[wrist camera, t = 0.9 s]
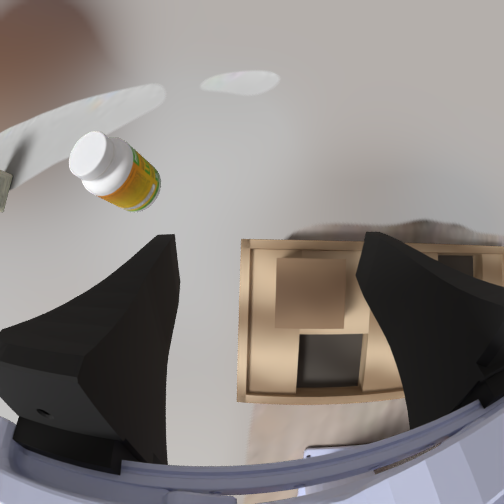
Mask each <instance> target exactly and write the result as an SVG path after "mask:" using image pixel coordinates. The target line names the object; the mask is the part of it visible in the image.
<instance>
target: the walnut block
mask: <svg viewBox="0 0 504 504" xmlns="http://www.w3.org/2000/svg"><path fill="white" fill-rule="evenodd" d="M345 291H346V259H307V258H277V264H276V300H275V328H282V329H344V318H345Z"/></svg>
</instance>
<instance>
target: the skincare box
mask: <svg viewBox="0 0 504 504" xmlns="http://www.w3.org/2000/svg"><path fill="white" fill-rule="evenodd" d="M12 177H13V175H11V174H9V173H6V172H4V171H2V170H0V212H3V211H4V208H5V203H6V200H7V196H8V192H9V188H10V185H11V181H12Z"/></svg>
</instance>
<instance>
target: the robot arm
mask: <svg viewBox="0 0 504 504" xmlns="http://www.w3.org/2000/svg"><path fill="white" fill-rule="evenodd" d="M355 276H356V278H357V281H358V284H359V287H360V289H361V292H362V294H363V296H364V298H365V300H366V302H367V304H368V306H369V308H370V310H371V311H372V313H373V315H374V317H375V319H376V320H377V322H378V324H379V326H380V328H381V330H382V332H383V333H384V335H385V337H386V339H387V342H388V344H389V346H390V349H391V351H392V354H393V357H394V360H395V363H396V365H397V369H398V372H399V375H400V379H401V382H402V386H403V391H404V395H405V400H406V404H407V410H408V417H409V424H410V430H409V431H407V432H404V433H401V434H398V435H395V436H392V437H389V438H386V439H383V440H380V441H377V442H373V443H370V444H364V445H354V446H341V447H323V448H307V449H305V451H304V456H303V459H298V460H291V461H284V462H276V463H266V464H255V465H241V466H204V467H203V466H175V465H168V461H167V446H166V416H165V415H166V409H165V408H166V407H165V406H166V377H167V376H166V375H167V363H168V355H169V349H170V344H171V339H172V333H173V329H174V324H175V319H176V314H177V309H178V303H179V291H180V276H179V268H178V260H177V251H176V242H175V235H174V234H167V235H157V236H156V237H154V238H153V239H152V240H151V241H150V242H149V243H148V244H146V245H145V246H144V247H143V248H142V249H141V250H140V251H139V252H137V254H135V255H134V256H133V257H132V258H131V259H129V260H128V261H127V262H126V263H125V264H123V265H122V266H121V267H120V268H118V269H117V270H116V271H115V272H113V273H112V274H111V275H110V276H108V277H107V278H106V279H104V280H103V281H101V282H100V283H99V284H97V285H95V286H94V287H92V288H91V289H90V290H88V291H86V292H85V293H83V294H81V295H79V296H77V297H76V298H74V299H72V300H70V301H69V302H67V303H65V304H63V305H61V306H59V307H57V308H55V309H53V310H51V311H49V312H47V313H45V314H42V315H40V316H38V317H35V318H33V319H30V320H28V321H25V322H22V323H19V324H17V325H14V326H11V327H8V328H5V329H2V330H1V332H0V397H1V398H2V399H3V400H4V401H5V402H6V403H7V405H8V406H9V407H10V408H11V409H12V410H13V411H14V412H15V413H16V414H17V415H18V416H19V418H18V422H17V425H16V424H14V423H13V422H11V421H10V420H7V419H6V418H3V417H1V416H0V503H1V504H237V499H236V498H234V497H233V496H221V495H244V494H258V493H268V492H276V491H284V490H291V489H297V488H299V490H298V495H297V497H294V498H289V499H283V500H277V501H271V502H264V503H257V504H504V287H502V286H499V285H495V284H492V283H489V282H486V281H483V280H480V279H477V278H475V277H472V276H469V275H467V274H465V273H462V272H460V271H458V270H455V269H453V268H451V267H449V266H447V265H445V264H443V263H441V262H439V261H437V260H435V259H433V258H431V257H429V256H427V255H425V254H423V253H422V252H420V251H418V250H416V249H414V248H412V247H411V246H409V245H407V244H405V243H403V242H401V241H399V240H397V239H395V238H393V237H391V236H388V235H386V234H383V233H380V232H366V235H365V239H364V244H363V248H362V252H361V256H360V260H359V264H358V267H357V271H356V275H355ZM440 443H441V444H440ZM437 444H440V445H439V446H438V447H436V448H434V449H432V450H430V451H428V452H426V453H424V454H422V455H420V456H419V457H417V458H415V459H413V460H410V461H408V462H406V463H403V464H401V465H399V466H396V467H394V468H391V469H388V470H386V471H383V472H380V473H378V474H375V472H374V470H375V469H378V468H381V467H384V466H387V465H390V464H392V463H395V462H398V461H400V460H403V459H406V458H408V457H410V456H413V455H415V454H418V453H420V452H422V451H425V450H427V449H429V448H431V447H433V446H435V445H437ZM307 455H311V456H310V457H307Z"/></svg>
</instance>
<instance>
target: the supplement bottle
mask: <svg viewBox="0 0 504 504" xmlns="http://www.w3.org/2000/svg"><path fill="white" fill-rule="evenodd" d="M69 167H70V170H71V172H72V173H73V174H74V175H76V176H77V177H79V178H80V179H82V183H83V185H84V186H85V188H86V189H87V190H88V191H89V192H91V193H92V194H94V195H96V196H98V197H100V198H102V199H104V200H106V201H108V202H110V203H113V204H114V205H116V206H118V207H120V208H123V209H125V210H127V211H130V212H139V211H143V210H145V209H146V208H148V207H149V206H150V205H151V204H152V203H153V202H154V201H155V199H156V198H157V196H158V194H159V191H160V187H161V179H160V175H159V173H158V171H157V170H156V169H155V168H154V167H153V166H152V165H151V164H150V163H149V162H148V161H146V160H145V159H144V158H143V157H142V156H141V155H140V154H139V153H138V152H137V151H136V150H134V149H133V148H132V147H131V146H130V145H129V144H128V143H127V142H125V141H124V140H122V139H120V138H117V137H109V138H108V137H107V136H106V135H105V134H103V133H102V132H99V131H92V132H89V133H87V134H86V135H84V136H83V137H81V138H80V139H79V140H78V142H77V143H76V144H75V146H74V147H73V149H72V152H71V154H70V158H69Z"/></svg>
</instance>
